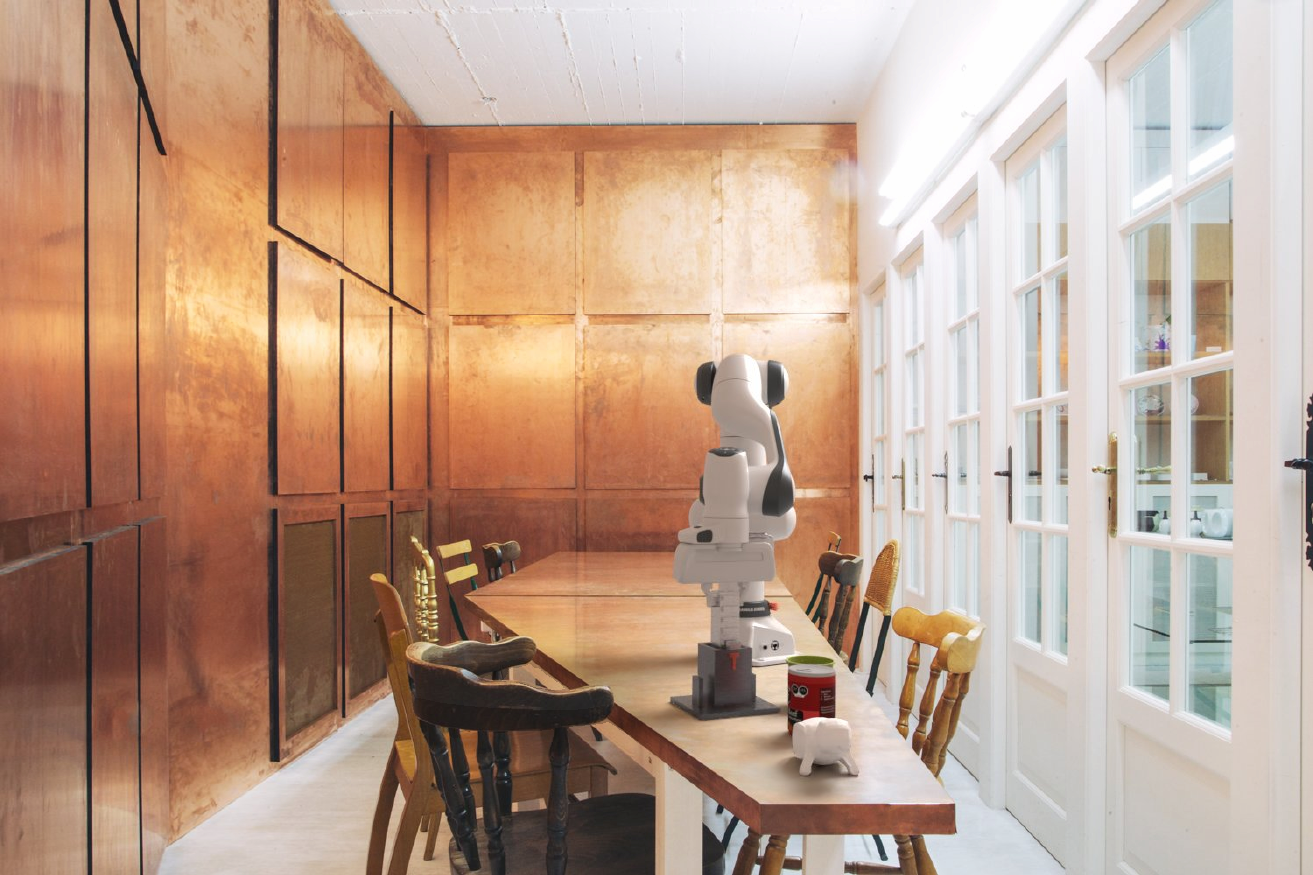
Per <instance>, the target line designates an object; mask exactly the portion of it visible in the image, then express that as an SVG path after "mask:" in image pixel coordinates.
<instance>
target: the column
mask: <svg viewBox="0 0 1313 875" xmlns="http://www.w3.org/2000/svg"><path fill="white" fill-rule="evenodd" d="M710 591H711V593H712V595H713V597H715V598H718V599H717V607H712V608H710V642H711V644H710V646H711V647H713V648H715V649H726V641H734V640H738V641H739V593H740V592H737V591H733V590H718V589H716V590H715V589H714V590H713V589H710Z"/></svg>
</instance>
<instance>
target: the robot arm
mask: <svg viewBox="0 0 1313 875" xmlns="http://www.w3.org/2000/svg"><path fill="white" fill-rule="evenodd" d="M696 370H697V371H696V373H695V375H694V380H693V390H694V391H695V392H694V393H695V394H696V399H697V400H698V401H699V402H700V403H701V404H702V405H706V406H708V407H710V409H711V411H710V412H711V415H712V419H713V420H714V421H715V423H716V424H717V425H718V426H719V427H720V432H719V433H720V434H719V436H720V437H719V438H720V439H719V447H714V448H711V449H709V450H707V452H706V455H705V461H704V467H703V474H702V475H701V476H700V477H699V494H698V495H699V497H698V498H697V499H696V500H694V502H692V504H691V506H690V509H689V512H688V524H689V527H687V528H684V529H681V530H679V531H678V532H677V539H678V541H679V542H680V543H679V544H678V545H677V546H676V548H675V551H674V558H673V565H672V576H673V577H672V578H673V579H674V580H675V581H676V583H678V584H682V585H693V584H698V585H699V584H700V589H701V590H702V593H703V595H704V596H705V597H706V607H707V608H710V609H711V608H712V607H717V599H718V598H715V597H713V595H712V593H711V590H713V584H718V585H717V586H718V587H717V588H718V589H717V590H733V591H737V592H740V593H739V641H741V644H743V645H746V646H748V647H751V648H752V667H753V666H754V667H762V666H770V665H771V666H772V665H778V664H786V663H787V662H786V658H788V657H792V656H801V655H805V654H804V653H802V652H800V651H798V650H796V642H795V638H794V635H793V633H792V631H791V630H789V629H788V628H787V627H786V626H785V625H784V624H782V623H781V622H780V621H779V620H778V619H776V618H775V617H774V616H773V615H772V612H771V611H774V612H777V611H779V608H780V606H779V605H780V604H779V603H778V602H777V601H776V602H775V601H768V600H766V599H765V584H766V583H765V582H773V580H774V579H775V577H777V576H776V575H777V572H776V570H777V569H776V560H775V553H774V551H775V542H776V541H781V540H786V539H788V538H789V537H790V536H791V535H792V534H793V532H794V530H795V528H796V525H797V513H796V510H795V508H794V503H795V500H796V493H797V491H796V484H795V480H794V477H793V475H792V472H791V469H790V465H789V461H788V457H787V451H786V447H785V443H784V438H783V434H782V429H781V426H780V421H779V419H778V416H777V414H776V411H774V410H773V407H776V406H778V405H779V404H781V403H782V402H783V401H784V400H785V398H786V396H787V393H788V391H789V388H790V379H789V375H788V372H787V370H786V366H785V365H784V364H783V362H780V361H778V360H773V359H768V360H762V359H754V358H752V357H751V356H749V354H748V355H747V354H744V353H731V354H729V355H727V356H725V357H724V358H723V359H722V360H721V361H716V362H715V361H714V360H712V361H709V362H704V363H701V365H700V366H699V367H698V368H697V369H696ZM787 664H788V663H787Z"/></svg>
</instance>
